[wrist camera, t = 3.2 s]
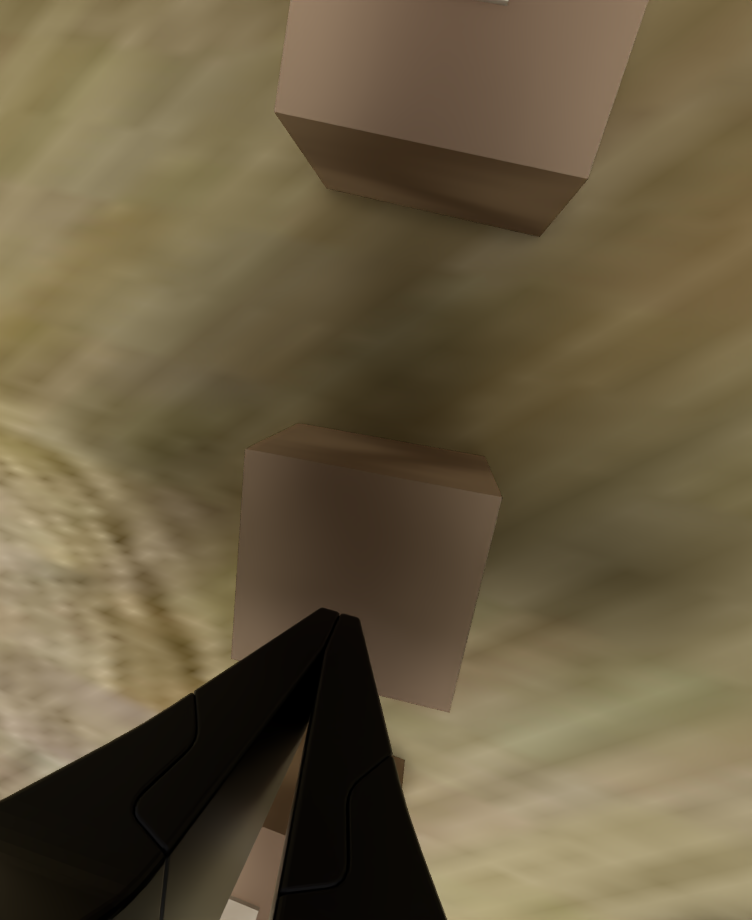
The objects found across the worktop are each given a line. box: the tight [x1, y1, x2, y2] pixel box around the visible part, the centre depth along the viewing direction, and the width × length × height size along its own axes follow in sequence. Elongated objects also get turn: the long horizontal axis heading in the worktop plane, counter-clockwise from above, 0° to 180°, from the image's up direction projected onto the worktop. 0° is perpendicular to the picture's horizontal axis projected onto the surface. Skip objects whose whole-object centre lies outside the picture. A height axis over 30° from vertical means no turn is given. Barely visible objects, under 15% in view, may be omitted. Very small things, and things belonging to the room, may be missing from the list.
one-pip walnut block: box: [274, 0, 649, 237], centre depth 9 cm, size 6×6×4 cm
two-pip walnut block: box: [220, 725, 405, 920], centre depth 15 cm, size 6×6×4 cm
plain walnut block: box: [231, 423, 502, 712], centre depth 12 cm, size 6×6×4 cm
